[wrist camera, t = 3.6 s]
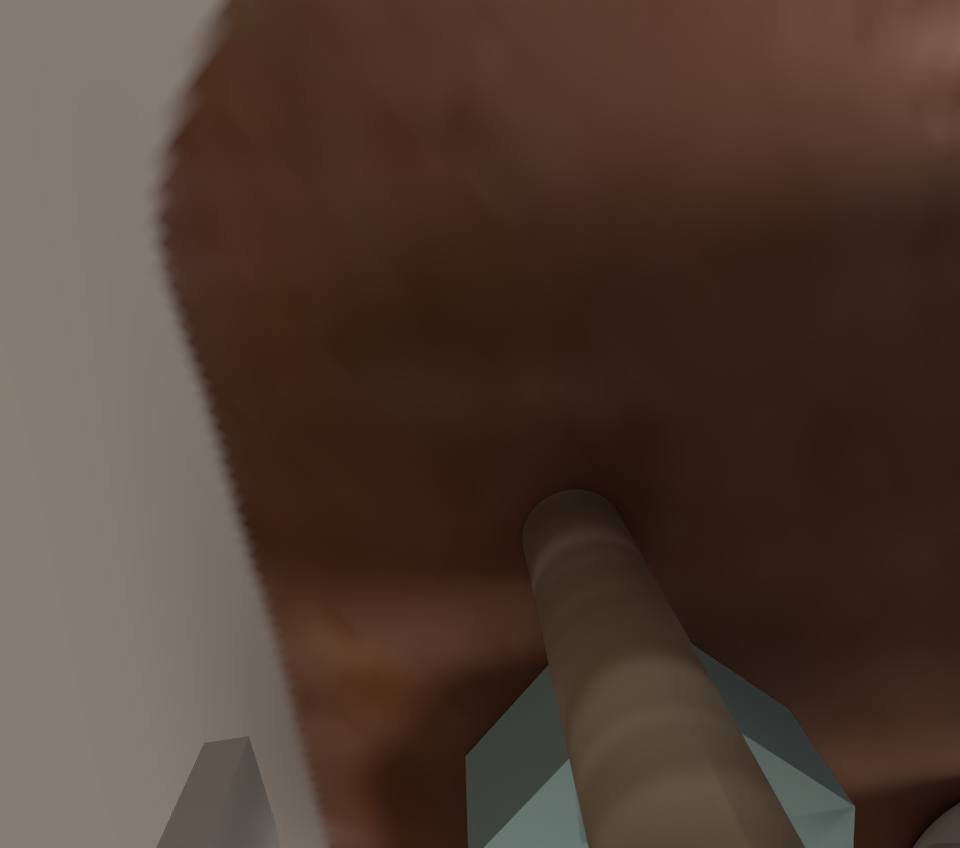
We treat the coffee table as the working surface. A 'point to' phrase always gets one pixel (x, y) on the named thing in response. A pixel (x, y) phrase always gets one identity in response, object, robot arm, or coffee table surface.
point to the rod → (638, 695)
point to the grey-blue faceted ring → (551, 789)
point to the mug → (942, 831)
